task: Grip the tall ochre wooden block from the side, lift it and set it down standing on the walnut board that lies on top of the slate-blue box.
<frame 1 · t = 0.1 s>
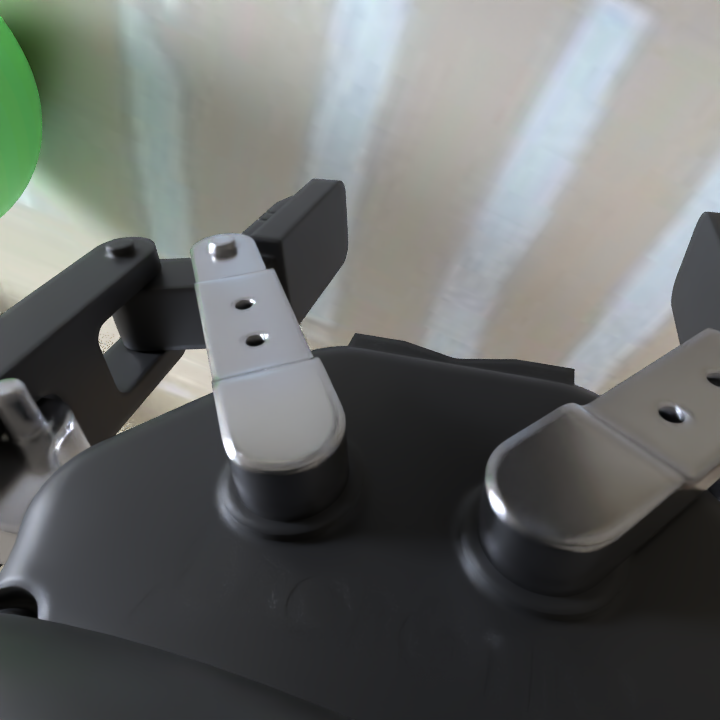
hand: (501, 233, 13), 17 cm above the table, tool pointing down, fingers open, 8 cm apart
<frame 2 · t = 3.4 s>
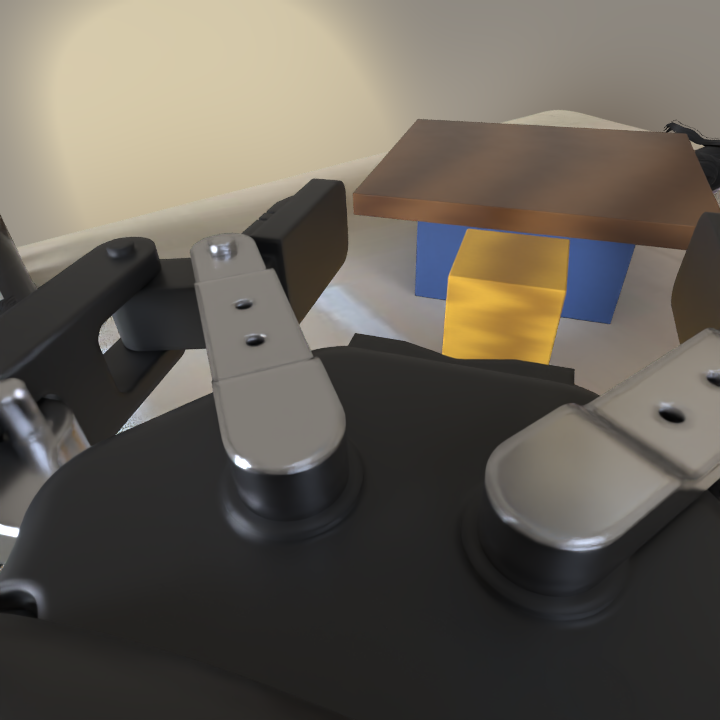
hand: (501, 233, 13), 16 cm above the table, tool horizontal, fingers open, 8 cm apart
toy figure: (648, 181, 57), on the table
blue box: (517, 264, 44), on the table
block: (487, 410, 31), on the table
board: (533, 170, 39), on the blue box, point 7 cm above the table
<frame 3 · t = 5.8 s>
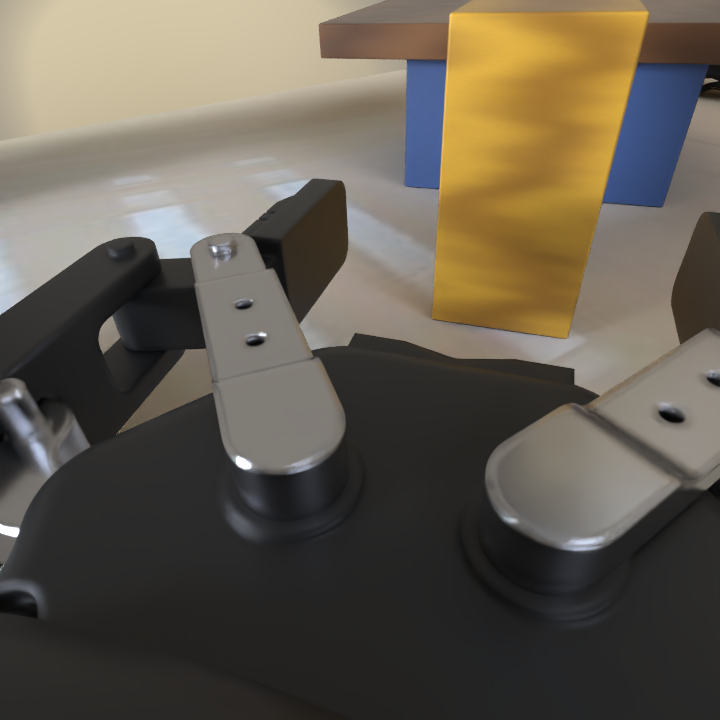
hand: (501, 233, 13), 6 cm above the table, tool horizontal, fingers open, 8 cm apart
toy figure: (682, 90, 49), on the table
blue box: (534, 157, 35), on the table
block: (504, 295, 22), on the table
board: (557, 18, 30), on the blue box, point 7 cm above the table
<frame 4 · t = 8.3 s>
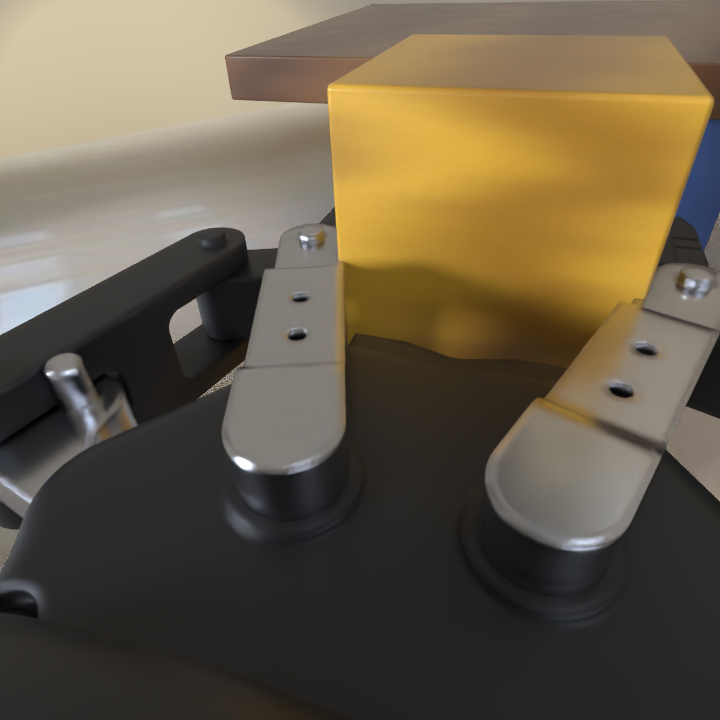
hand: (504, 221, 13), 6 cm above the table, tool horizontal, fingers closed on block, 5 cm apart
blue box: (521, 210, 28), on the table
block: (466, 459, 15), on the table, touching gripper
board: (548, 42, 23), on the blue box, point 7 cm above the table
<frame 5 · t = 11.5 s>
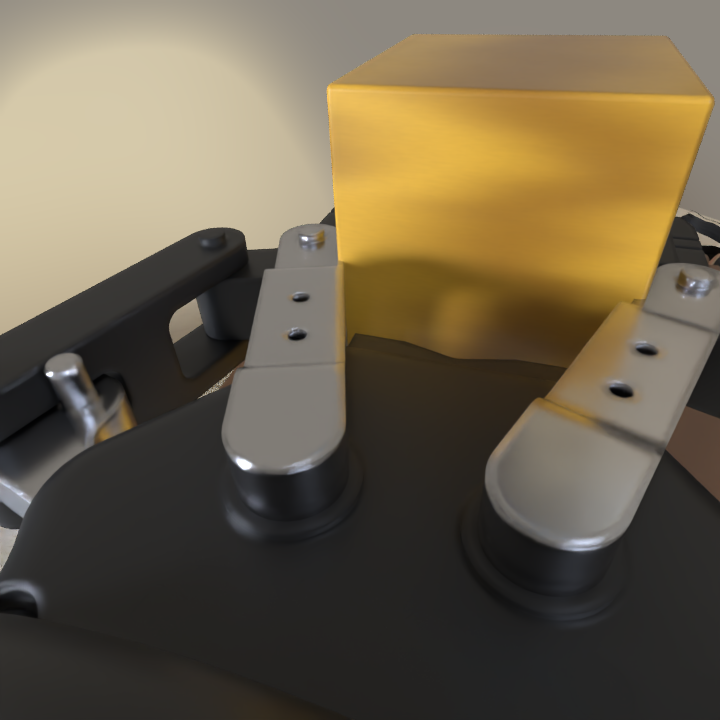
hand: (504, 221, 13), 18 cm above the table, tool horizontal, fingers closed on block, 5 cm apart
toy figure: (657, 283, 45), on the table
block: (466, 460, 15), point 12 cm above the table, touching gripper
board: (497, 337, 26), on the blue box, point 7 cm above the table
when the fingers open (15 cm above the table, at t = 14.9 s): block stays where it is, resting on board.
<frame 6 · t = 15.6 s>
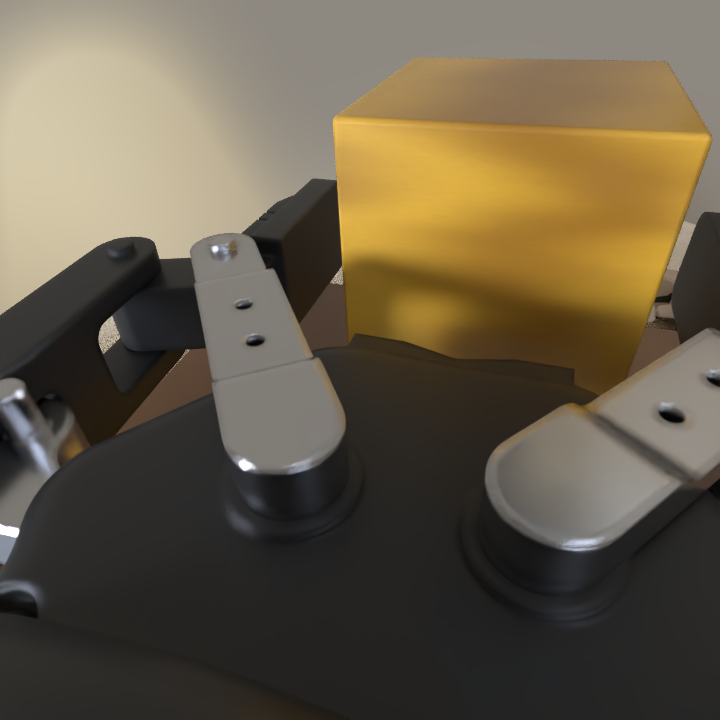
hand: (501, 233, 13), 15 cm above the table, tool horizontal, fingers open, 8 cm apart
toy figure: (693, 336, 34), on the table
block: (468, 472, 15), point 8 cm above the table, touching board
board: (463, 487, 16), on the blue box, point 7 cm above the table
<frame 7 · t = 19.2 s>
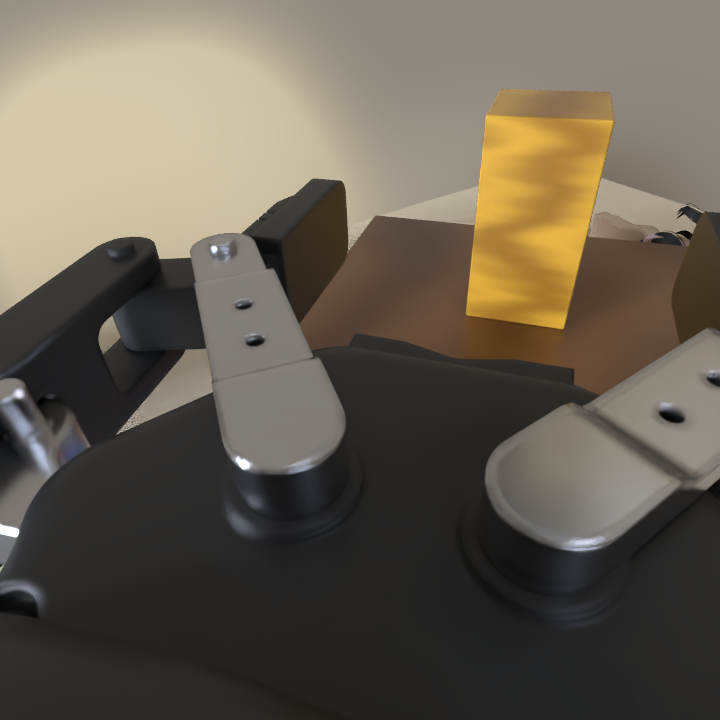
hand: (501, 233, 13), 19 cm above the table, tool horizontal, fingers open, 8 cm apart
toy figure: (658, 270, 48), on the table
block: (518, 298, 29), point 8 cm above the table, touching board
board: (514, 309, 30), on the blue box, point 7 cm above the table
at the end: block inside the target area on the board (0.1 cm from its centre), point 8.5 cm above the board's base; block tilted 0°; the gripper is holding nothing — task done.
